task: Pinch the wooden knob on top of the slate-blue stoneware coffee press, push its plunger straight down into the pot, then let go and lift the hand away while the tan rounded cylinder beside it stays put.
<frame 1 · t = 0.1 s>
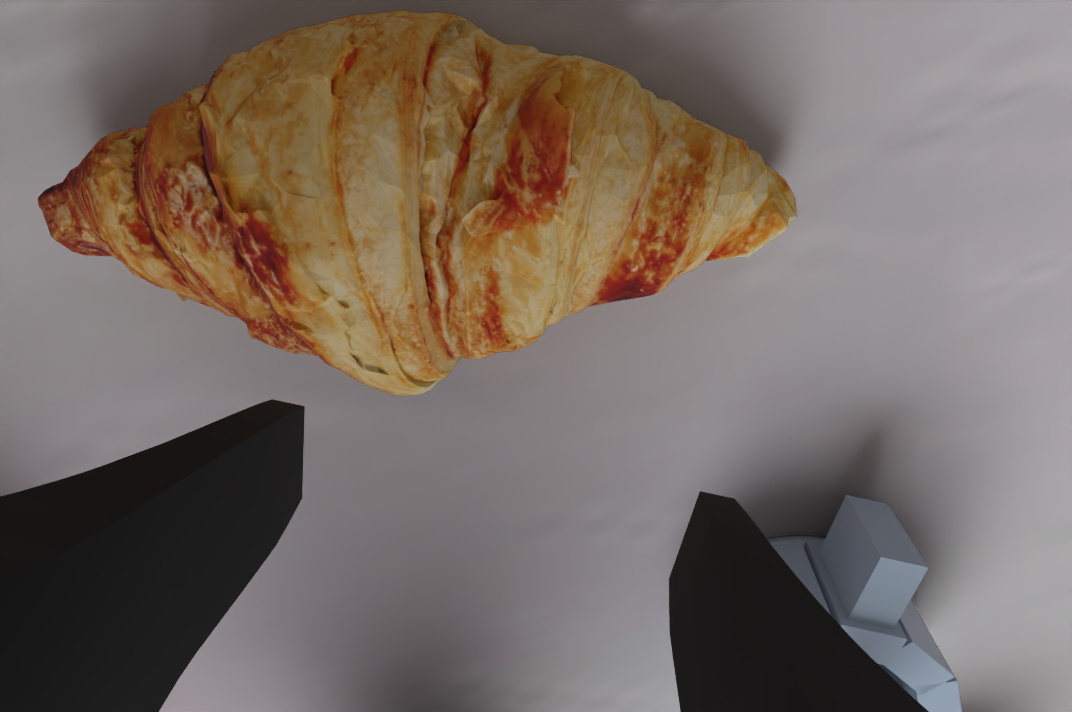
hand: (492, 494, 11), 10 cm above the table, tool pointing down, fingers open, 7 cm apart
croissant: (431, 203, 20), on the table
press pot: (791, 620, 25), on the table
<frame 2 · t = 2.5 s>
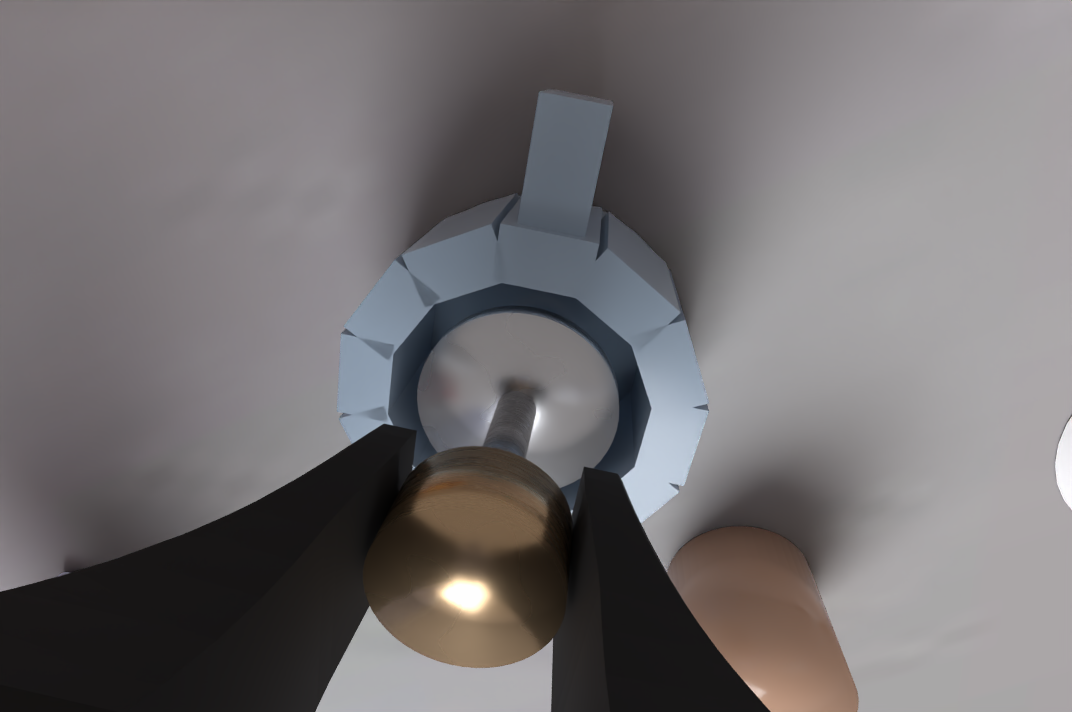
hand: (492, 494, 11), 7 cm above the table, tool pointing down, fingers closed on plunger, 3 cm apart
tan rounded cylinder: (737, 582, 21), on the table
plunger: (497, 473, 12), point 7 cm above the table, slide at 0.0 cm, touching gripper
press pot: (536, 340, 18), on the table
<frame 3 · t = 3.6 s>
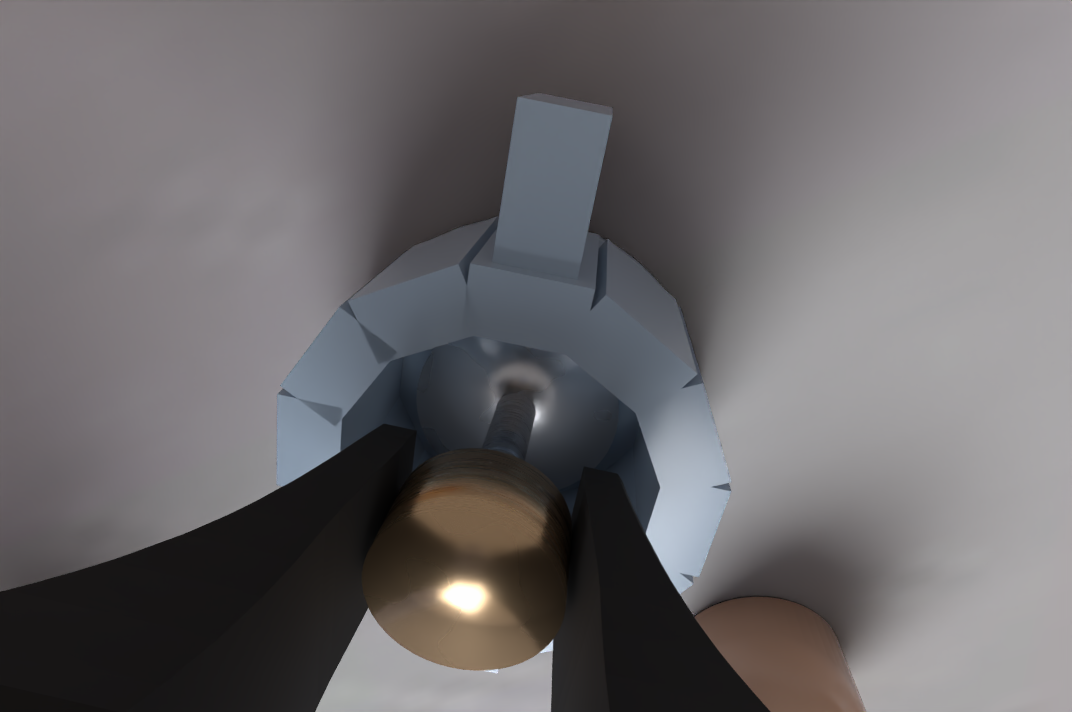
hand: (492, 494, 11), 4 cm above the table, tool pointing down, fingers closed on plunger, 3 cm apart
tan rounded cylinder: (755, 657, 18), on the table
plunger: (497, 475, 12), point 4 cm above the table, slide at 2.9 cm, touching gripper
press pot: (523, 386, 15), on the table
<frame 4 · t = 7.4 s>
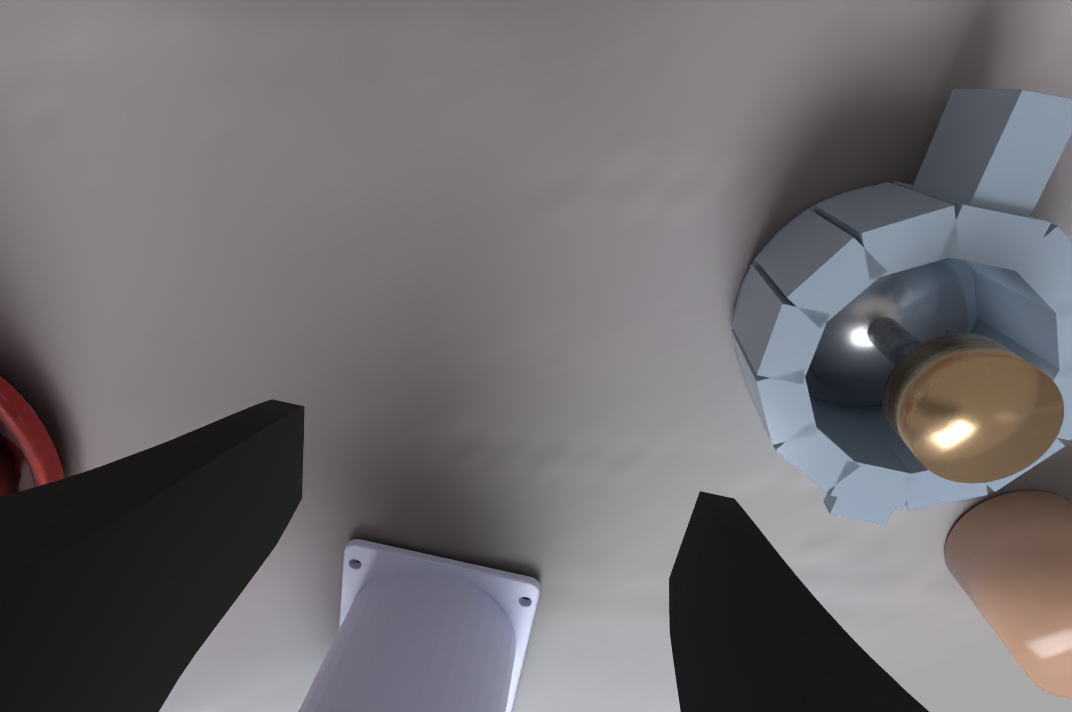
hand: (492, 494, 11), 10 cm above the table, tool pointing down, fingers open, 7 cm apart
tan rounded cylinder: (1013, 544, 22), on the table
plunger: (921, 366, 16), point 4 cm above the table, slide at 2.9 cm
press pot: (867, 317, 20), on the table
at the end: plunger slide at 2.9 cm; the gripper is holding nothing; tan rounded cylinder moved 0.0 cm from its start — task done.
